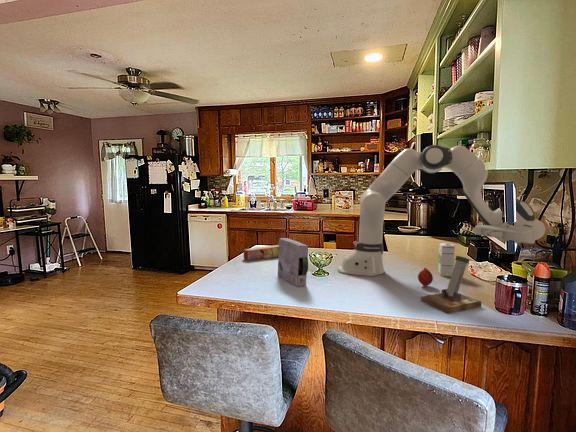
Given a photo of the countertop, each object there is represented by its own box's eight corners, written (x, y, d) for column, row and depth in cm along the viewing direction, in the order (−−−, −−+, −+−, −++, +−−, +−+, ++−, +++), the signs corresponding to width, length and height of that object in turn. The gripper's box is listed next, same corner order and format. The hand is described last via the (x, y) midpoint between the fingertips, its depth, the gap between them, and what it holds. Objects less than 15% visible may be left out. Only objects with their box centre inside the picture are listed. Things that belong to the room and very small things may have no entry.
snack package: (247, 261, 182) (247, 249, 181) (242, 259, 187) (242, 247, 187) (282, 257, 192) (282, 245, 191) (276, 255, 198) (276, 243, 197)
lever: (448, 296, 123) (460, 257, 123) (456, 300, 120) (469, 259, 120) (443, 295, 122) (456, 255, 122) (452, 298, 119) (465, 257, 119)
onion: (420, 283, 145) (421, 265, 145) (434, 285, 142) (435, 267, 141) (415, 286, 141) (416, 267, 140) (429, 289, 137) (430, 270, 136)
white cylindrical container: (453, 276, 156) (455, 245, 154) (440, 275, 157) (441, 245, 155) (450, 273, 161) (452, 243, 160) (437, 272, 162) (439, 242, 161)
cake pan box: (308, 286, 141) (309, 244, 139) (298, 288, 138) (299, 245, 136) (286, 274, 157) (286, 237, 155) (277, 276, 155) (277, 238, 153)
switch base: (452, 295, 130) (453, 284, 129) (481, 306, 119) (482, 294, 118) (420, 301, 123) (421, 289, 123) (448, 313, 113) (448, 300, 112)
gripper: (488, 221, 143) (465, 222, 138) (540, 227, 124) (516, 229, 119) (487, 235, 144) (464, 237, 138) (538, 244, 125) (514, 247, 120)
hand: (488, 234), depth 128 cm, fingers closed
